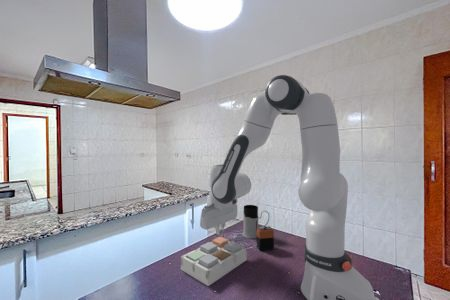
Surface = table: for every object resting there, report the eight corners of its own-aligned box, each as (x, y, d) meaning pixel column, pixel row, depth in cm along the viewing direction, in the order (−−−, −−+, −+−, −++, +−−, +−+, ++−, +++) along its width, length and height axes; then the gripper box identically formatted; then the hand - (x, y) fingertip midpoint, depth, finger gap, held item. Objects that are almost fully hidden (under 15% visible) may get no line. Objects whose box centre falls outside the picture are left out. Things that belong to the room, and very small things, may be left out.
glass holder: (245, 230, 120) (245, 203, 120) (271, 234, 114) (271, 206, 114) (240, 236, 112) (240, 208, 112) (267, 241, 106) (267, 211, 106)
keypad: (246, 260, 89) (246, 244, 89) (208, 286, 72) (208, 267, 72) (219, 248, 99) (219, 234, 99) (180, 269, 82) (180, 252, 82)
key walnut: (230, 261, 84) (230, 253, 83) (221, 266, 80) (221, 258, 80) (220, 256, 87) (220, 249, 87) (212, 262, 83) (212, 254, 83)
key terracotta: (228, 246, 93) (228, 239, 93) (220, 250, 90) (220, 243, 90) (219, 243, 97) (219, 236, 97) (212, 247, 93) (212, 240, 93)
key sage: (204, 262, 83) (204, 254, 83) (194, 267, 79) (194, 259, 79) (196, 257, 86) (196, 250, 86) (186, 263, 82) (186, 255, 82)
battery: (256, 246, 101) (256, 225, 100) (270, 245, 102) (270, 224, 102) (259, 251, 96) (259, 229, 96) (274, 249, 98) (274, 228, 97)
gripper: (207, 208, 83) (207, 243, 83) (239, 198, 98) (239, 228, 99) (196, 205, 87) (196, 239, 88) (229, 196, 103) (229, 225, 103)
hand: (219, 233), depth 93 cm, fingers closed
